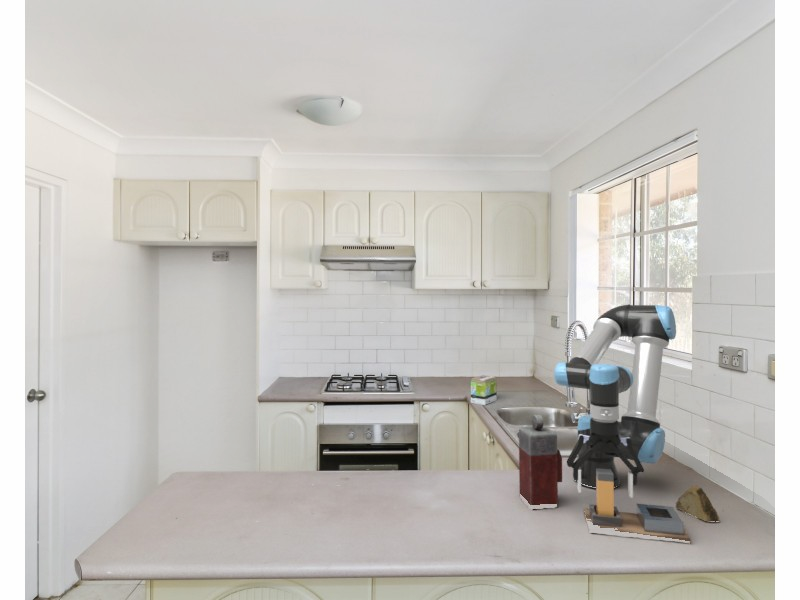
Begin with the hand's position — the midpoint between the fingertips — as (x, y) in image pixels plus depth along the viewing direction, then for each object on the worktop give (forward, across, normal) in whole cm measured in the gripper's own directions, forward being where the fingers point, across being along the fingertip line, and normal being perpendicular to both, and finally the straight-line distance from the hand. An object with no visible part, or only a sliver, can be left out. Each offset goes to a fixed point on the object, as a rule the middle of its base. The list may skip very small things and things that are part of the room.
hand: (604, 493), depth 136 cm
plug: (+8, 0, 0) cm, 8 cm away
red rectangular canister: (+9, -17, +11) cm, 22 cm away
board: (+9, +8, 0) cm, 12 cm away
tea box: (+8, -45, +141) cm, 148 cm away
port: (+8, +14, 0) cm, 16 cm away
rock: (+9, +27, +12) cm, 31 cm away
